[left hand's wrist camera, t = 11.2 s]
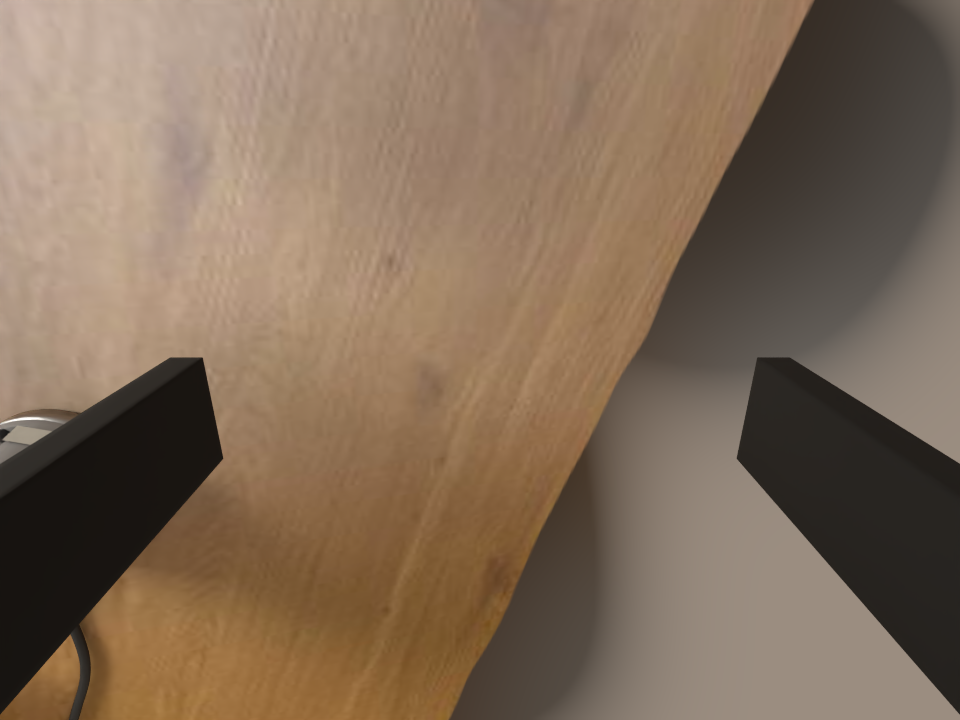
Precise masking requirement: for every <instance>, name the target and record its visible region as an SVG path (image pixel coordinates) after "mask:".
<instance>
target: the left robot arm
mask: <svg viewBox="0 0 960 720" xmlns="http://www.w3.org/2000/svg"><path fill="white" fill-rule="evenodd" d="M222 459H223V455H222V450H221V445H220V440H219V435H218V430H217V425H216V420H215V416H214V411H213V406H212V401H211V396H210V391H209V386H208V381H207V376H206V372H205V367H204V362H203V358H169V359H167V360H166V361H164V362H162V363H161V364H159V365H158V366H156V367H154V368H153V369H151V370H150V371H148V372H146V373H145V374H143V375H142V376H140V377H138V378H137V379H135V380H134V381H132V382H130V383H129V384H127V385H126V386H124V387H122V388H121V389H119V390H118V391H116V392H114V393H113V394H111V395H110V396H108V397H106V398H105V399H103V400H102V401H100V402H98V403H97V404H95V405H94V406H92V407H90V408H89V409H87V410H86V411H84V412H82V413H81V414H77V413H73V412H69V411H63V410H52V409H41V410H32V411H27V412H23V413H20V414H17V415H15V416H13V417H10V418H8V419H7V420H5V421H3V422H1V423H0V714H1V713H2V712H3V711H4V710H5V708H6V707H7V706H8V705H9V704H10V703H11V701H12V700H13V699H14V698H15V697H16V696H17V695H18V693H19V692H20V691H21V690H22V689H23V688H24V687H25V685H26V684H27V683H28V682H29V681H30V680H31V679H32V677H33V676H34V675H35V674H36V673H37V672H38V671H39V669H40V668H41V667H42V666H43V665H44V664H45V662H46V661H47V660H48V659H49V658H50V657H51V656H52V654H53V653H54V652H55V651H56V650H57V649H58V648H59V646H60V645H61V644H62V643H63V642H64V641H65V640H66V638H67V637H68V636H69V635H70V634H71V636H72V639H73V641H74V644H75V647H76V649H77V653H78V656H79V661H80V682H79V687H78V690H77V694H76V697H75V700H74V703H73V707H72V710H71V714H70V717H69V720H78V719H79V716H80V712H81V709H82V705H83V702H84V699H85V696H86V693H87V690H88V686H89V681H90V672H91V666H90V656H89V651H88V647H87V644H86V641H85V638H84V635H83V633H82V630H81V628H80V625H79V624H80V622H81V621H82V620H83V619H84V618H85V617H86V615H87V614H88V613H89V612H90V611H91V610H92V609H93V607H94V606H95V605H96V604H97V603H98V602H99V601H100V599H101V598H102V597H103V596H104V595H105V594H106V593H107V591H108V590H109V589H110V588H111V587H112V586H113V585H114V583H115V582H116V581H117V580H118V579H119V578H120V576H121V575H122V574H123V573H124V572H125V571H126V570H127V568H128V567H129V566H130V565H131V564H132V563H133V562H134V560H135V559H136V558H137V557H138V556H139V555H140V554H141V552H142V551H143V550H144V549H145V548H146V547H147V546H148V544H149V543H150V542H151V541H152V540H153V539H154V537H155V536H156V535H157V534H158V533H159V532H160V531H161V529H162V528H163V527H164V526H165V525H166V524H167V523H168V521H169V520H170V519H171V518H172V517H173V516H174V515H175V513H176V512H177V511H178V510H179V509H180V508H181V507H182V505H183V504H184V503H185V502H186V501H187V500H188V498H189V497H190V496H191V495H192V494H193V493H194V492H195V490H196V489H197V488H198V487H199V486H200V485H201V484H202V482H203V481H204V480H205V479H206V478H207V477H208V476H209V474H210V473H211V472H212V471H213V470H214V469H215V468H216V466H217V465H218V464H219V463H220V462H221V461H222ZM737 459H738V461H739V462H740V463H741V464H742V465H743V466H744V468H745V469H746V470H747V471H748V472H749V473H750V474H751V476H752V477H753V478H754V479H755V480H756V481H757V482H758V484H759V485H760V486H761V487H762V488H763V489H764V490H765V492H766V493H767V494H768V495H769V496H770V497H771V498H772V500H773V501H774V502H775V503H776V504H777V505H778V506H779V508H780V509H781V510H782V511H783V512H784V513H785V514H786V516H787V517H788V518H789V519H790V520H791V521H792V523H793V524H794V525H795V526H796V527H797V528H798V529H799V531H800V532H801V533H802V534H803V535H804V536H805V537H806V539H807V540H808V541H809V542H810V543H811V544H812V546H813V547H814V548H815V549H816V550H817V551H818V552H819V554H820V555H821V556H822V557H823V558H824V559H825V560H826V562H827V563H828V564H829V565H830V566H831V567H832V568H833V570H834V571H835V572H836V573H837V574H838V575H839V576H840V578H841V579H842V580H843V581H844V582H845V583H846V584H847V586H848V587H849V588H850V589H851V590H852V591H853V593H854V594H855V595H856V596H857V597H858V598H859V599H860V601H861V602H862V603H863V604H864V605H865V606H866V607H867V609H868V610H869V611H870V612H871V613H872V614H873V615H874V617H875V618H876V619H877V620H878V621H879V622H880V623H881V625H882V626H883V627H884V628H885V629H886V630H887V632H888V633H889V634H890V635H891V636H892V637H893V638H894V640H895V641H896V642H897V643H898V644H899V645H900V646H901V648H902V649H903V650H904V651H905V652H906V653H907V654H908V656H909V657H910V658H911V659H912V660H913V661H914V663H915V664H916V665H917V666H918V667H919V668H920V669H921V671H922V672H923V673H924V674H925V675H926V676H927V677H928V679H929V680H930V681H931V682H932V683H933V684H934V685H935V687H936V688H937V689H938V690H939V691H940V692H941V693H942V695H943V696H944V697H945V698H946V699H947V700H948V701H949V703H950V704H951V705H952V706H953V707H954V708H955V710H956V711H957V712H958V713H959V714H960V464H959V463H958V462H956V461H954V460H953V459H951V458H950V457H948V456H946V455H945V454H943V453H942V452H940V451H938V450H937V449H935V448H934V447H932V446H930V445H929V444H927V443H926V442H924V441H922V440H921V439H919V438H918V437H916V436H914V435H913V434H911V433H910V432H908V431H906V430H905V429H903V428H902V427H900V426H898V425H897V424H895V423H894V422H892V421H890V420H889V419H887V418H886V417H884V416H882V415H881V414H879V413H878V412H876V411H874V410H873V409H871V408H870V407H868V406H866V405H865V404H863V403H862V402H860V401H858V400H857V399H855V398H854V397H852V396H850V395H849V394H847V393H846V392H844V391H842V390H841V389H839V388H838V387H836V386H834V385H833V384H831V383H830V382H828V381H826V380H825V379H823V378H822V377H820V376H818V375H817V374H815V373H814V372H812V371H810V370H809V369H807V368H806V367H804V366H802V365H801V364H799V363H798V362H796V361H794V360H793V359H791V358H757V362H756V367H755V372H754V376H753V381H752V386H751V391H750V396H749V401H748V406H747V411H746V416H745V420H744V425H743V430H742V435H741V440H740V445H739V450H738V455H737Z"/></svg>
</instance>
